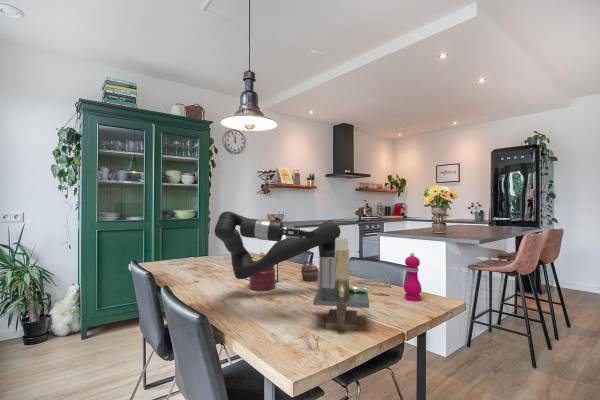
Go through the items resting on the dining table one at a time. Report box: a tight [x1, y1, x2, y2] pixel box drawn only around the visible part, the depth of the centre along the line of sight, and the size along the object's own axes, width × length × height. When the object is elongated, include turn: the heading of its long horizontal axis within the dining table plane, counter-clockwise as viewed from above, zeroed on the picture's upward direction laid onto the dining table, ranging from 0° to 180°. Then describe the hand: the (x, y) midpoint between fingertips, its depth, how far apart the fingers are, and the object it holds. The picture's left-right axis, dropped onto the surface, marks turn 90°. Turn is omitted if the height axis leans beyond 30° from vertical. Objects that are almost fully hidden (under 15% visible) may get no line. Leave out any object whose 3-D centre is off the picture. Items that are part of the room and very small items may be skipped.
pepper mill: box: [403, 252, 423, 302], centre depth 135 cm, size 7×7×20 cm
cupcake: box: [300, 261, 319, 283], centre depth 170 cm, size 10×10×10 cm
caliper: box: [351, 275, 392, 288], centre depth 159 cm, size 20×1×6 cm, turn 59°
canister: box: [249, 251, 276, 292], centre depth 156 cm, size 13×13×18 cm
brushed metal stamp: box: [312, 237, 370, 309], centre depth 109 cm, size 18×16×21 cm
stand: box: [325, 302, 358, 332], centre depth 109 cm, size 10×20×10 cm, turn 169°
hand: (315, 235), depth 112 cm, fingers closed
